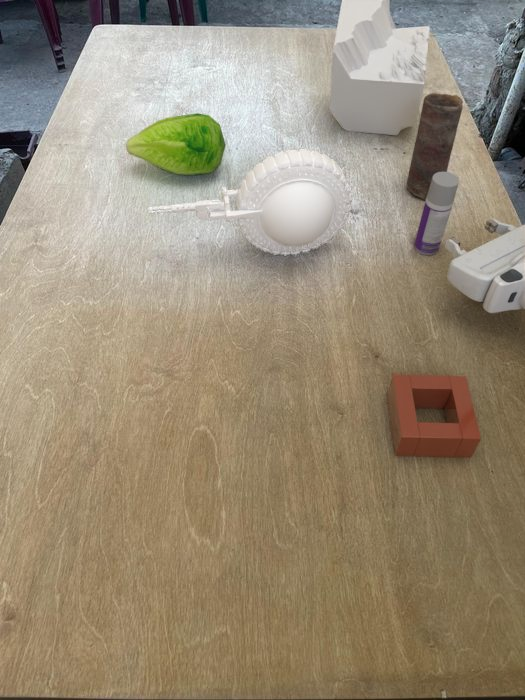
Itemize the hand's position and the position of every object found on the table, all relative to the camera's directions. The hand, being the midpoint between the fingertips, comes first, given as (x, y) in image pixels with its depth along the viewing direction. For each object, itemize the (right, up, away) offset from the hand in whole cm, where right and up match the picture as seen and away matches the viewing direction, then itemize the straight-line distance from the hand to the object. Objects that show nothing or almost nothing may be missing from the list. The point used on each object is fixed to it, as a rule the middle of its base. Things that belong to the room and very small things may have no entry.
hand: (468, 231), depth 106 cm
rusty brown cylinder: (-2, +13, +23) cm, 26 cm away
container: (-4, -1, +11) cm, 12 cm away
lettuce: (-53, +18, +26) cm, 62 cm away
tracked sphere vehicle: (-37, -2, +9) cm, 39 cm away
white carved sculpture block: (-10, +32, +39) cm, 51 cm away
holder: (-11, -31, -15) cm, 36 cm away
